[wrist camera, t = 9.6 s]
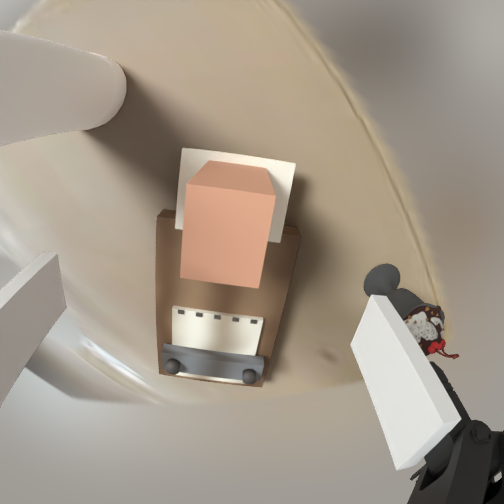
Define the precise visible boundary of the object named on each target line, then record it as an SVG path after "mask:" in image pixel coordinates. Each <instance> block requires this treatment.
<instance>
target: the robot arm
mask: <svg viewBox="0 0 504 504" xmlns="http://www.w3.org/2000/svg"><path fill="white" fill-rule="evenodd" d="M66 308H67V306H66V301H65V296H64V291H63V285H62V280H61V273H60V267H59V260H58V253H53V252H47V251H44V252H42V253H41V254H40V255H39V256H38V257H36V258H35V259H34V260H33V261H32V262H31V263H30V264H28V265H27V266H26V267H25V268H24V269H23V270H22V271H20V272H19V273H18V274H17V275H16V276H15V277H14V278H13V279H12V280H11V281H10V282H8V283H7V284H6V285H5V286H4V287H3V288H2V289H1V290H0V406H1V405H2V403H3V401H4V400H5V398H6V396H7V394H8V393H9V391H10V389H11V388H12V386H13V385H14V383H15V381H16V380H17V378H18V376H19V375H20V373H21V372H22V370H23V369H24V367H25V366H26V364H27V363H28V361H29V360H30V358H31V357H32V355H33V354H34V352H35V351H36V349H37V348H38V346H39V345H40V343H41V342H42V340H43V339H44V338H45V336H46V335H47V333H48V332H49V330H50V329H51V328H52V326H53V325H54V324H55V322H56V321H57V319H58V318H59V317H60V316H61V314H62V313H63V312H64V310H65V309H66ZM350 345H351V348H352V350H353V353H354V355H355V358H356V360H357V363H358V365H359V368H360V370H361V373H362V376H363V378H364V381H365V383H366V386H367V389H368V391H369V394H370V396H371V399H372V402H373V405H374V407H375V410H376V413H377V415H378V418H379V421H380V424H381V427H382V429H383V432H384V435H385V438H386V441H387V444H388V447H389V449H390V453H391V456H392V459H393V462H394V465H395V468H396V470H400V469H404V468H408V467H412V466H415V465H416V464H417V463H418V462H419V461H420V460H421V459H423V458H425V461H426V464H425V465H424V466H423V467H422V468H421V469H419V470H418V471H417V472H416V473H415V474H413V475H412V477H411V478H410V480H413V479H414V478H416V477H417V476H418V475H419V474H420V475H419V477H418V480H417V481H416V485H415V487H414V489H413V492H412V494H411V496H410V499H409V501H408V503H407V504H504V431H503V432H498V431H491V430H490V428H489V427H488V426H487V425H486V424H485V423H483V422H482V421H478V420H471V419H470V417H469V416H468V413H467V412H466V410H465V408H464V406H463V405H462V403H461V401H460V399H459V398H458V396H457V394H456V392H455V391H453V387H452V386H451V384H450V383H448V379H447V377H446V376H445V374H444V372H443V371H442V370H441V369H440V368H439V367H438V366H437V365H436V364H435V363H434V362H429V361H428V359H427V358H426V356H425V354H424V353H423V351H422V350H421V348H420V346H419V345H418V343H417V342H416V340H415V339H414V337H413V335H412V334H411V332H410V331H409V329H408V328H407V326H406V325H405V323H404V322H403V320H402V319H401V317H400V316H399V314H398V313H397V311H396V310H395V308H394V307H393V305H392V304H391V302H390V301H389V299H388V298H387V296H381V295H371V296H370V299H369V301H368V304H367V306H366V309H365V311H364V314H363V316H362V319H361V321H360V324H359V326H358V328H357V331H356V333H355V335H354V338H353V340H352V342H351V344H350ZM499 472H501V473H502V478H501V479H500V480H498V481H497V482H495V481H494V476H496V475H497V474H498V473H499Z"/></svg>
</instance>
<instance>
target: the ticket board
mask: <svg viewBox="0 0 504 504" xmlns="http://www.w3.org/2000/svg"><path fill="white" fill-rule="evenodd" d="M175 221H176V211H174V210H166V209H163V210H162V212H161V213H160V214H159V215H158V216H157V227H156V326H157V347H158V364H159V374H163V375H169V376H174V377H180V378H187V379H193V380H200V381H207V382H215V383H223V384H232V385H242V386H253V387H262V386H263V382H264V379H265V375H266V372H267V368H268V365H269V361H270V358H271V354H272V350H273V347H274V343H275V339H276V336H277V332H278V328H279V324H280V320H281V317H282V313H283V309H284V305H285V301H286V297H287V293H288V289H289V285H290V281H291V277H292V273H293V269H294V265H295V261H296V256H297V252H298V248H299V244H300V239H301V235H300V233H299V230H298V228H297V227H291V226H283V231H282V236H281V241H280V243H276V242H269V241H268V242H267V247H266V252H265V258H264V263H263V268H262V273H261V278H260V284H259V288H251V287H243V286H235V285H227V284H220V283H213V282H205V281H198V280H191V279H184V278H180V267H181V249H182V234H183V230H181V229H175Z"/></svg>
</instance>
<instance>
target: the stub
mask: <svg viewBox="0 0 504 504" xmlns="http://www.w3.org/2000/svg"><path fill="white" fill-rule="evenodd" d="M295 165H296V164H295V163H291V162H286V161H280V160H274V159H268V158H261V157H255V156H248V155H241V154H234V153H226V152H218V151H210V150H201V149H192V148H182V153H181V162H180V172H179V183H178V194H177V207H176V221H175V229H181V230H183V234H182V249H181V267H180V278H184V279H191V280H198V281H205V282H213V283H220V284H227V285H235V286H243V287H251V288H259V284H260V278H261V273H262V268H263V263H264V258H265V252H266V247H267V242H268V241H269V242H276V243H280V241H281V236H282V231H283V226H284V221H285V216H286V211H287V206H288V201H289V196H290V191H291V186H292V181H293V176H294V170H295Z"/></svg>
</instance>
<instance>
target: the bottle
mask: <svg viewBox="0 0 504 504" xmlns="http://www.w3.org/2000/svg"><path fill="white" fill-rule="evenodd" d="M126 92H127V88H126V77H125V75H124V72H123V70H122V68H121V67H120V66H119V65H118V64H117V63H116V62H115V61H113V60H111V59H110V58H108V57H105V56H102V55H99V54H95V53H89V52H86V51H83V50H80V49H77V48H73V47H70V46H66V45H63V44H59V43H56V42H52V41H48V40H44V39H40V38H36V37H32V36H27V35H23V34H18V33H13V32H8V31H3V30H0V146H2V145H6V144H10V143H14V142H19V141H23V140H27V139H32V138H37V137H42V136H47V135H52V134H58V133H63V132H69V131H76V130H88V129H91V128H96V127H98V126H101V125H103V124H106V123H107V122H108V121H109V120H111V119H112V118H113V117H114V116H115V115H116V114H117V112H118V111H119V109H120V108H121V106H122V105H123V102H124V98H125V95H126Z"/></svg>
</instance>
